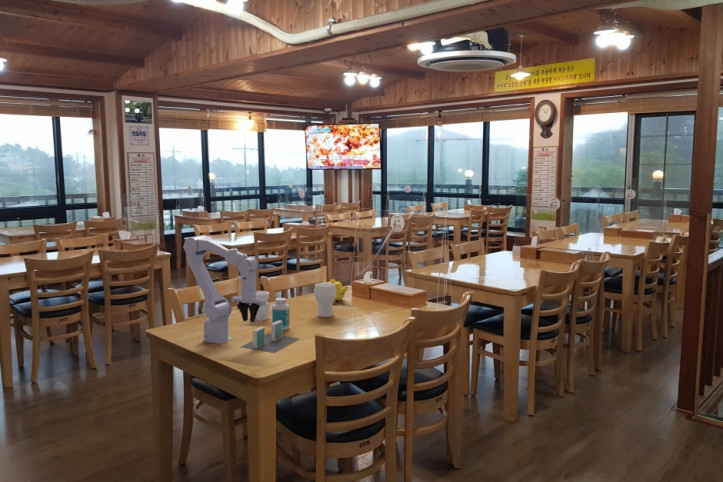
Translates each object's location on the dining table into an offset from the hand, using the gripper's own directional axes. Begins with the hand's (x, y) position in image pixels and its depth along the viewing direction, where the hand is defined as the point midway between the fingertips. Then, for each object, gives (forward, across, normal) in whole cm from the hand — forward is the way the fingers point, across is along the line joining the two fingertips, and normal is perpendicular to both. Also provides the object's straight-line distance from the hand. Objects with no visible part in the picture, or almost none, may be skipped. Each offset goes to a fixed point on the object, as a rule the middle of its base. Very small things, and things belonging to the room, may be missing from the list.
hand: (249, 321), depth 229 cm
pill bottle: (+10, 0, +25) cm, 27 cm away
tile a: (+10, +4, 0) cm, 11 cm away
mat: (+10, +6, +6) cm, 13 cm away
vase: (+10, -18, +36) cm, 42 cm away
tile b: (+10, +6, +11) cm, 16 cm away
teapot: (+10, -2, +81) cm, 82 cm away
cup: (+10, +6, +54) cm, 55 cm away
